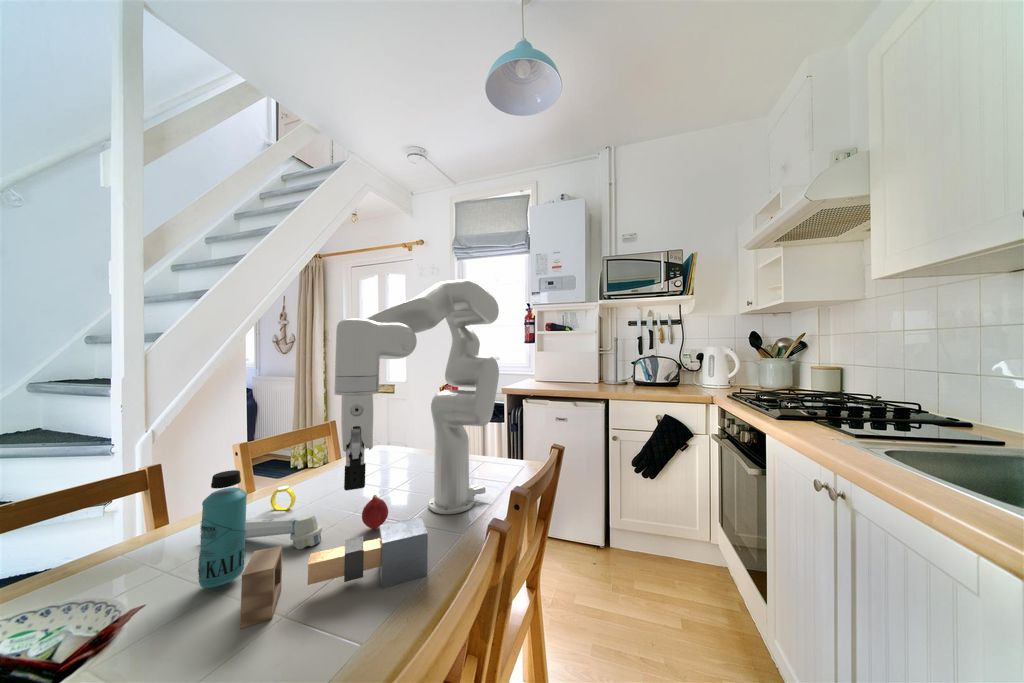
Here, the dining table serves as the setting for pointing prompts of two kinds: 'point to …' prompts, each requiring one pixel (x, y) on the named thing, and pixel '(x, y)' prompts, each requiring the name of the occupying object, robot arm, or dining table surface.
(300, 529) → the white long handled piece
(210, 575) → the beverage bottle
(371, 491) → the dining table surface
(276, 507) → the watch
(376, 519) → the onion
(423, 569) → the sleeve
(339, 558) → the banded wooden beam
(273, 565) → the socket
